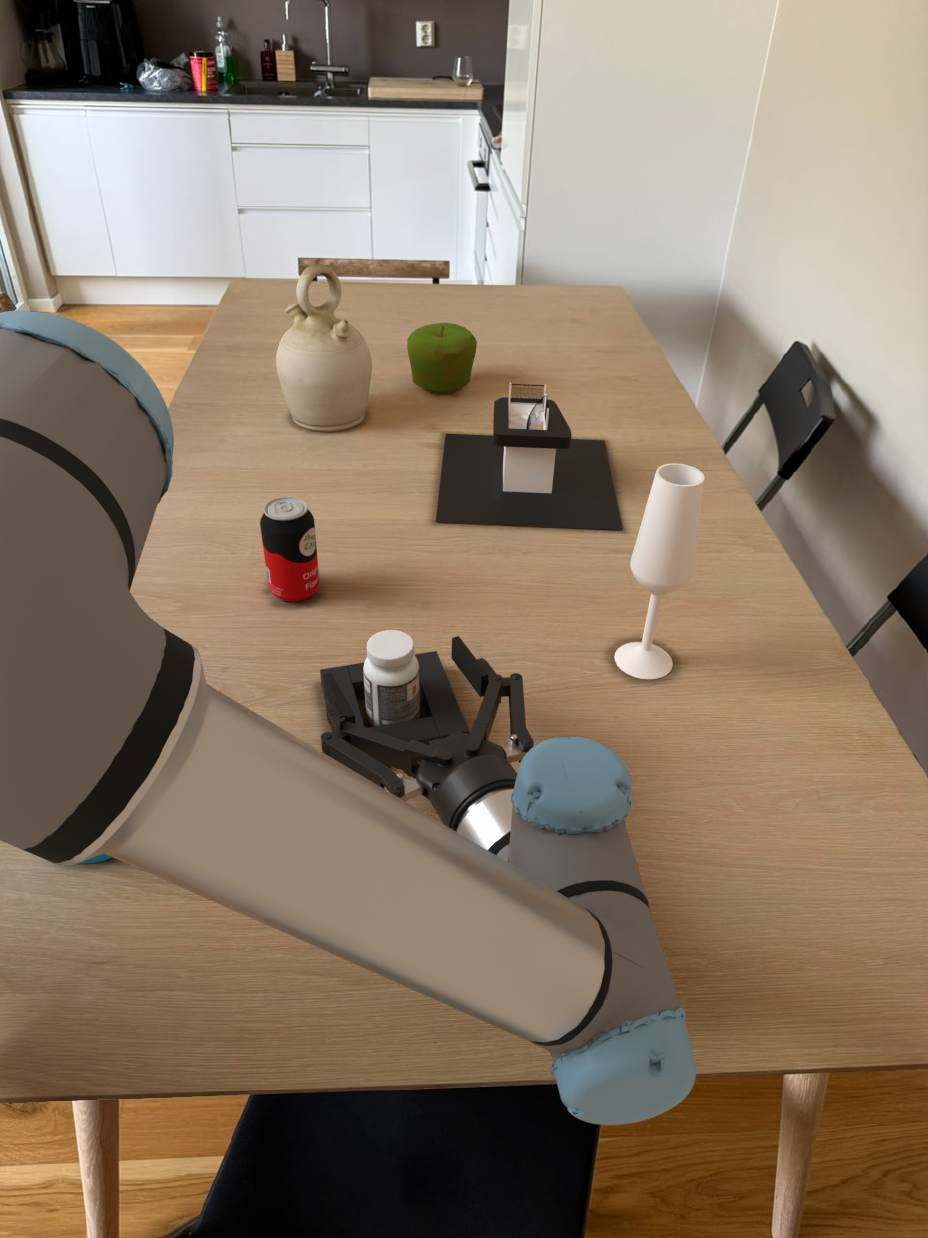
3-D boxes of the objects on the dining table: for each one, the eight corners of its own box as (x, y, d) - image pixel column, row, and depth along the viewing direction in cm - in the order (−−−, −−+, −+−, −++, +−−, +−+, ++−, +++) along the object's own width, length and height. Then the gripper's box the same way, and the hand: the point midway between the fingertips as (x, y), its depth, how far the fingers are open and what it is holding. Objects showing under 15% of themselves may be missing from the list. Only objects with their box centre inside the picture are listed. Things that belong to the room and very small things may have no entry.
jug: (270, 407, 154) (253, 256, 138) (354, 392, 159) (347, 246, 144) (298, 444, 143) (284, 285, 128) (387, 427, 149) (383, 273, 133)
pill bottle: (428, 707, 95) (429, 635, 89) (404, 742, 91) (403, 669, 85) (381, 692, 97) (379, 620, 91) (355, 725, 93) (351, 652, 87)
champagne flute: (610, 672, 101) (642, 485, 86) (618, 637, 106) (649, 454, 91) (670, 684, 99) (713, 496, 85) (675, 648, 104) (716, 464, 90)
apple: (419, 370, 168) (419, 310, 161) (482, 378, 166) (484, 318, 159) (398, 396, 159) (397, 333, 152) (464, 405, 156) (466, 342, 149)
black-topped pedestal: (622, 530, 125) (636, 443, 117) (435, 522, 125) (436, 435, 117) (604, 440, 147) (614, 362, 139) (445, 434, 147) (447, 355, 139)
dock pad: (341, 772, 87) (340, 754, 86) (321, 686, 97) (319, 669, 96) (468, 748, 91) (469, 731, 89) (436, 667, 100) (436, 650, 99)
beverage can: (275, 610, 108) (264, 525, 101) (264, 581, 113) (253, 499, 105) (325, 599, 110) (318, 516, 103) (313, 572, 114) (305, 490, 107)
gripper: (352, 900, 71) (274, 729, 86) (613, 799, 80) (501, 660, 95) (347, 840, 66) (266, 670, 81) (624, 740, 76) (506, 604, 91)
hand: (393, 664), depth 88 cm, fingers open, 13 cm apart
